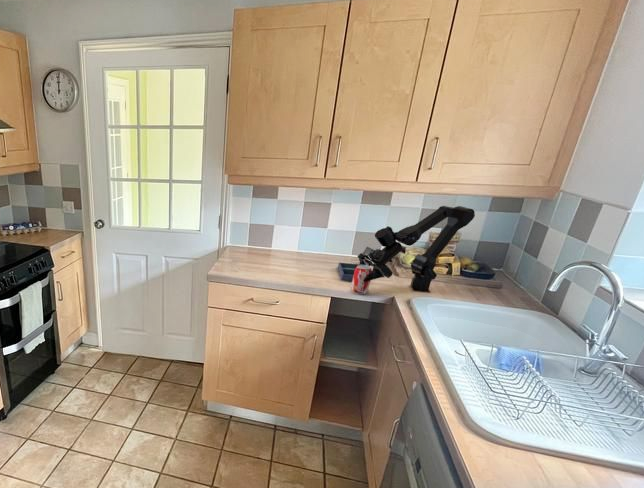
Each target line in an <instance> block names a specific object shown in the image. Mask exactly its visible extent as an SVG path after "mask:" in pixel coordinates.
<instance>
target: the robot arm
mask: <svg viewBox="0 0 644 488" xmlns="http://www.w3.org/2000/svg"><path fill="white" fill-rule="evenodd" d="M475 213H476V212H475V210H474V209H473V208H469V207H466V206H461V205H457V206H455V207H452V206H447V205H441V206H439V207H438V208H437V209H435V211H433V212H432V213H430V214H429V215H427V216H426V217H424V218H423V219H421V220H420V221H418V222H417V223H415V224H413V225H410V226H406V227H404V228H402V229H400V230H398V231H396V232H395V231H394V230H393V228H392V227H391V226H386V227H383V228H381V229H378V230H377V231H376V232H375V233H374V237H375V239H376V240H377V241H378V243H379V244H380V245H381V247H383V248H382V249H380V248H376V249H374V248H372V247H370V246H366V247H365V249H364V251H362V252H361V253H359V254H358V255H357V258H358V260H359V261H358V262H359V263H358V264H359V265H368V266H370V267H372V269H371V270H372V272H371V273H370V274H369V275H368V276H367V277H366V278H365V279H364V280H363V281H364V282H367V281H370V282H371V281H374V280H377V279H381V278H387V279H389V278H391V277H392V276H393V270H391V268H390V267H389V265H388V263H393V258H395V257H396V256H397V255H398V254H400V253H401V254H403V255H405V254H406V252H407V251H406V249H407V247H406V246H408V247H409V246H413V245H415V244H416V243H417V242H418V241H419V240H420V239H421V237H422V236H423V234H424V233H426V232H428V231H429V230H431V229H432V228H434V227H435V226H436V225H438V224H440V223H441V222H443V221H444V220H446V219H447V220H446V225H445V226H444V227H443V229H442V230H441V231H440V233H439V234H438V235H437V237H436V238H435V239H434V241H433V242H432V243H431V244H430V246H429V247H428V249H426V251H425V252H424V253H422V254H421V253H417V254H416V256H415V257H414V259H413V260H411V263H410V269H411V273H412V275H414V276H413V277H412V278H411V282H410V284H409V286H410V288H411V289H412V291H414V292H425V293H430V286H431V284H432V283H431V282H432V280H435V279H436V278H437V276H438V274H437V273H436V271H435V270H434V269H435V267H436V264H437V258H438V257H439V256H440V255H441V253H442V252H443V250H445V248H446V247H447V245H448V244H449V243H450V242H451V240H452V239H453V238H454V237H455V235H456V234H457V233H458V232H459V230H461V229H463V228H464V227H466V226H468V225H469V224H470V223H471V222H472V221H473V219H474V218H475V216H476V214H475ZM404 245H405V246H404Z"/></svg>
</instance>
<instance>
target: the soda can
mask: <svg viewBox="0 0 644 488" xmlns="http://www.w3.org/2000/svg"><path fill="white" fill-rule="evenodd" d="M372 270H373V269H372V266H368V265H357V267H356V269H355V271H354V275H353V280H352V282H351V286H350V290H351V291H352V293H354V294H357V295H365V294H367V293H368V291H369V289H370V284H371V280H370V281H367V282H364V281H363V280H364V279H365V278H366V277H367V276H368V275H369V274H370V273H371V272H372Z"/></svg>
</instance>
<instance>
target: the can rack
mask: <svg viewBox="0 0 644 488" xmlns="http://www.w3.org/2000/svg"><path fill="white" fill-rule="evenodd" d="M359 264H360V263H349V262H338V266H337V269H338V270H337V271H338V274H339V277H340V280H341V281H343V282H351V283H352V280H353V275H354V271H355V269H356V267H357V265H359Z"/></svg>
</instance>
